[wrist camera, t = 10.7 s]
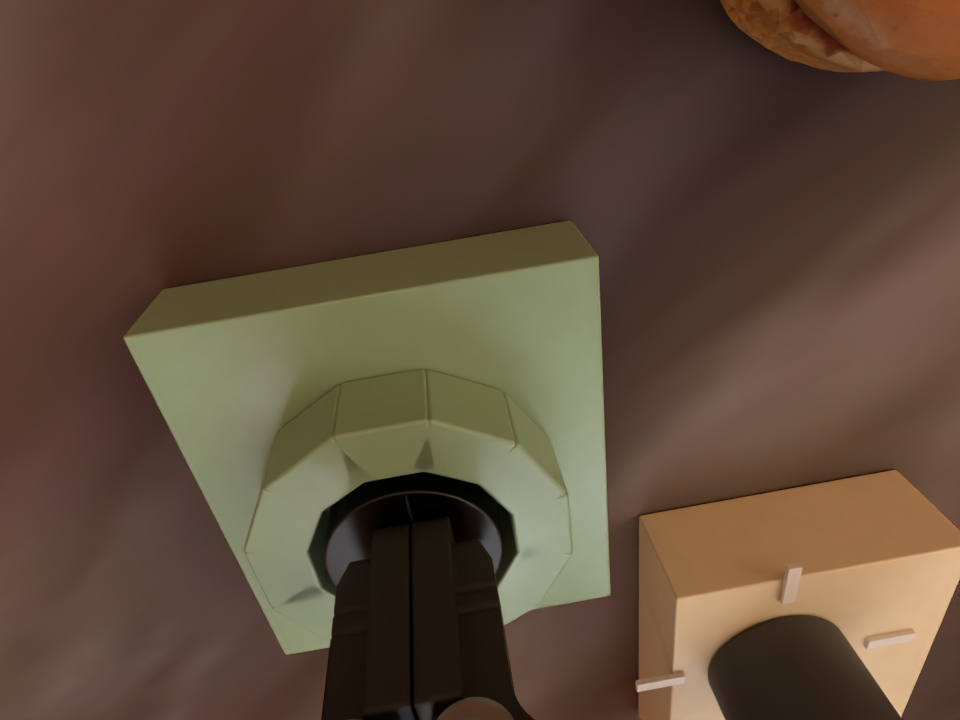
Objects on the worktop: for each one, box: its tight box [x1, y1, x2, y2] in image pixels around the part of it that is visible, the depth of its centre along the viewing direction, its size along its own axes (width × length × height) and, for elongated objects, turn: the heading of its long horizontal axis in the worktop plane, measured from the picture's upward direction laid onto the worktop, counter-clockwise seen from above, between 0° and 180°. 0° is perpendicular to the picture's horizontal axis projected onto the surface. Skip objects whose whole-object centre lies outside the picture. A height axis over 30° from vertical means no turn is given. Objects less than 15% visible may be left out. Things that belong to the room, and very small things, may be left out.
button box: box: [124, 220, 611, 655], centre depth 14 cm, size 10×9×4 cm
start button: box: [324, 472, 503, 587], centre depth 13 cm, size 4×4×2 cm
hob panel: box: [635, 470, 960, 720], centre depth 20 cm, size 12×9×3 cm
